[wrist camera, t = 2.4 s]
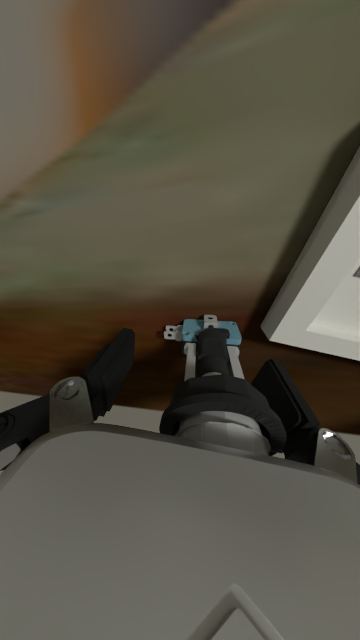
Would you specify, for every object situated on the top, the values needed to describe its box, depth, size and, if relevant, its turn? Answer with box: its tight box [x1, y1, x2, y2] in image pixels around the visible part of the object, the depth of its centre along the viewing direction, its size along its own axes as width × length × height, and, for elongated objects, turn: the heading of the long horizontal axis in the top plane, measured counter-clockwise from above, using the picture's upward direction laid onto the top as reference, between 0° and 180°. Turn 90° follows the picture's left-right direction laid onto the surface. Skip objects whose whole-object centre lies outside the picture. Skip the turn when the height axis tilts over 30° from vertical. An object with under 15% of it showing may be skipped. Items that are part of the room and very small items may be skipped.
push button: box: [159, 315, 287, 456], centre depth 10 cm, size 7×5×10 cm
